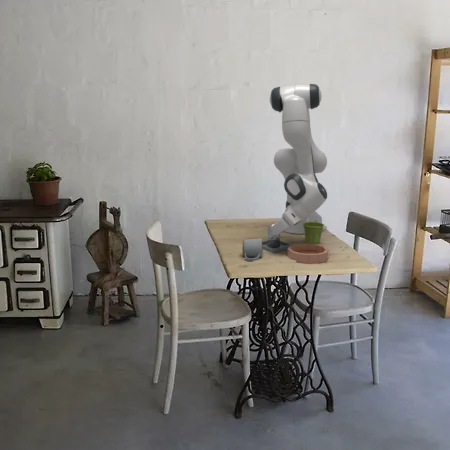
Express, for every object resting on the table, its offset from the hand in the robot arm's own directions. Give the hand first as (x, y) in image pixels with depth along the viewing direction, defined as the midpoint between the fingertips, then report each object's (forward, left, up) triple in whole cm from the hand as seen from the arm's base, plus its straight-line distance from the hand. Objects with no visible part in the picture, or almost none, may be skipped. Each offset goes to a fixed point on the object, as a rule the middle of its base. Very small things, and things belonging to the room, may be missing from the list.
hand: (272, 234), depth 245 cm
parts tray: (0, +1, -6) cm, 6 cm away
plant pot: (-19, +6, -6) cm, 21 cm away
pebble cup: (0, +1, -6) cm, 6 cm away
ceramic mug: (+16, +5, -6) cm, 18 cm away
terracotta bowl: (-2, +19, -6) cm, 20 cm away
